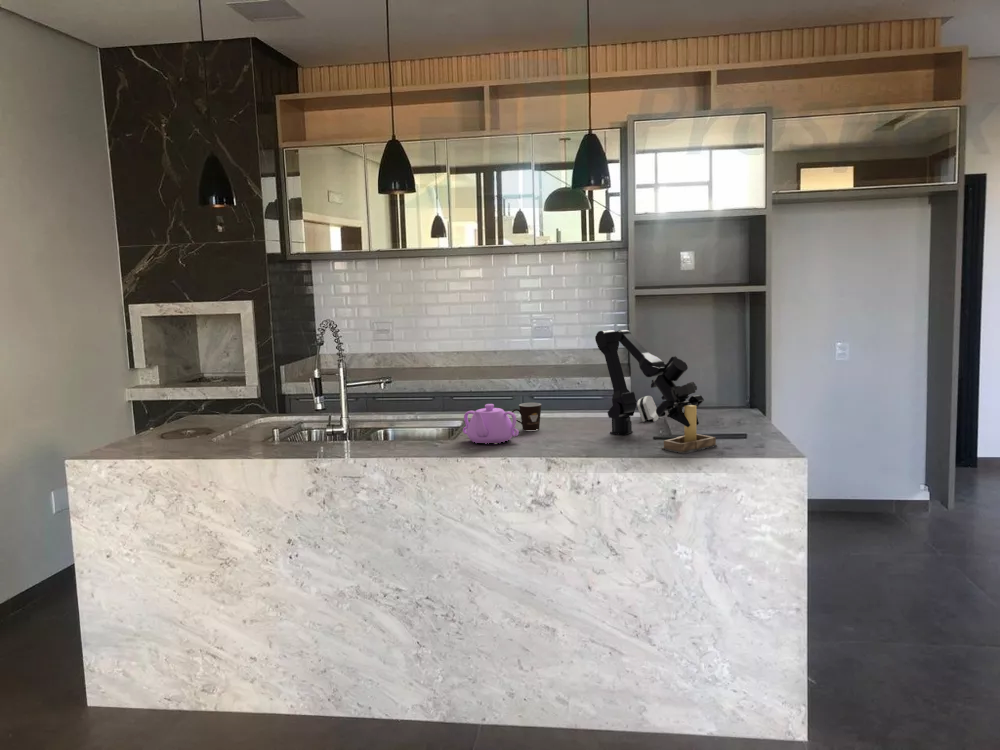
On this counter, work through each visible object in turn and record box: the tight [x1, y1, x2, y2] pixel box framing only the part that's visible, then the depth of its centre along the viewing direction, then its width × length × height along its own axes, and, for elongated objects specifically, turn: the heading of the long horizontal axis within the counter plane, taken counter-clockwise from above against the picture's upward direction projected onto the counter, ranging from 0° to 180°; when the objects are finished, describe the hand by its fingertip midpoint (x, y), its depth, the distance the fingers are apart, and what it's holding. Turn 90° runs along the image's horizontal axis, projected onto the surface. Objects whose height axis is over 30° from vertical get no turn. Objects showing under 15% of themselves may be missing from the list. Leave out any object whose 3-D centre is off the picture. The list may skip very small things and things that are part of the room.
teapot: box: [462, 403, 520, 445], centre depth 283 cm, size 22×22×14 cm
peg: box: [683, 405, 698, 443], centre depth 264 cm, size 4×4×13 cm
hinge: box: [636, 395, 660, 423], centre depth 318 cm, size 17×5×10 cm, turn 159°
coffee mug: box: [511, 402, 542, 430], centre depth 303 cm, size 12×9×10 cm
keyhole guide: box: [660, 433, 718, 455], centre depth 264 cm, size 16×10×3 cm, turn 124°
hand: (693, 425), depth 262 cm, fingers closed on peg, 4 cm apart
